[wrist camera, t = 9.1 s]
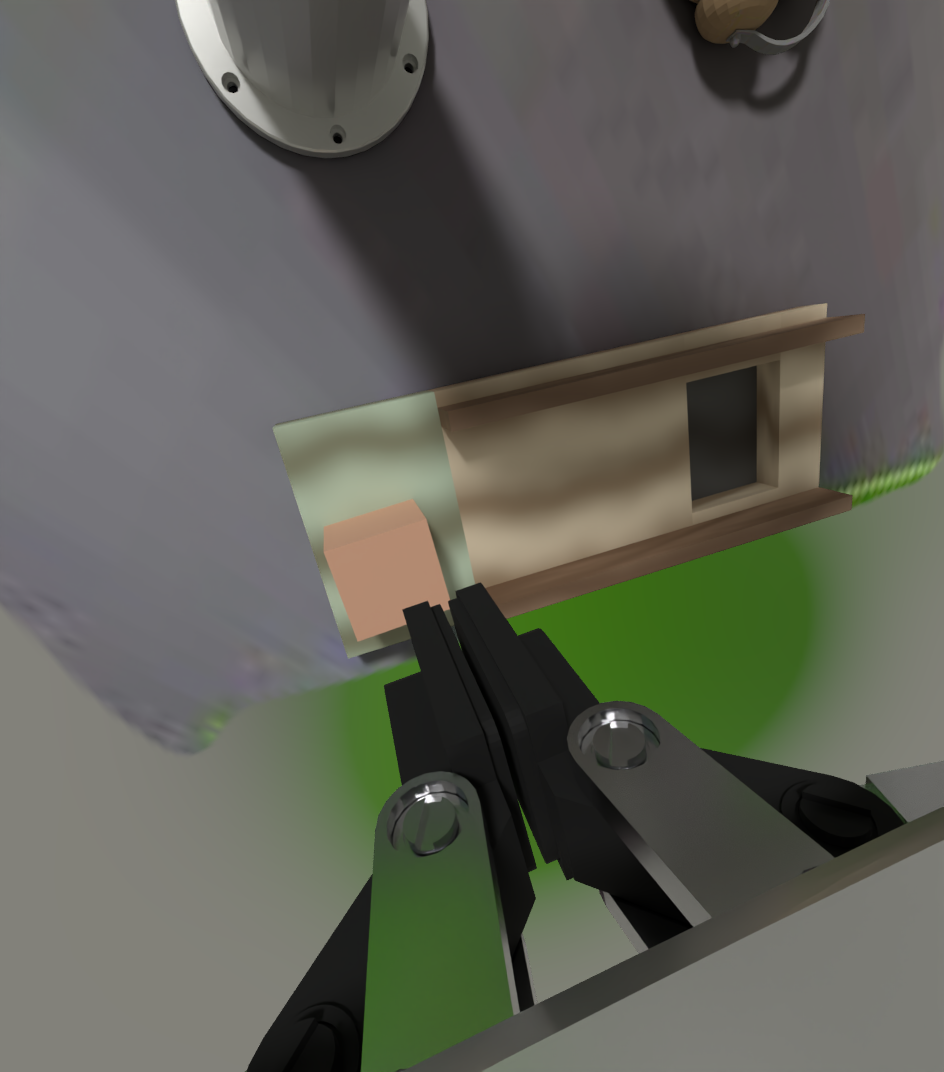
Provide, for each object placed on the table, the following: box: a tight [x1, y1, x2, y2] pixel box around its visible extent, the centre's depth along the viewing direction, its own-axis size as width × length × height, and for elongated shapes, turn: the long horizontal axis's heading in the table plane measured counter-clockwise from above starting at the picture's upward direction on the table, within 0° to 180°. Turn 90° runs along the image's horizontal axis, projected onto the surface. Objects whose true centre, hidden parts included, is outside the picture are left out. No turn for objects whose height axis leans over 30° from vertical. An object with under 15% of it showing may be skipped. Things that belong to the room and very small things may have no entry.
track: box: [273, 303, 865, 658], centre depth 37 cm, size 16×40×6 cm, turn 102°
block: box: [324, 499, 450, 642], centre depth 33 cm, size 6×6×5 cm
